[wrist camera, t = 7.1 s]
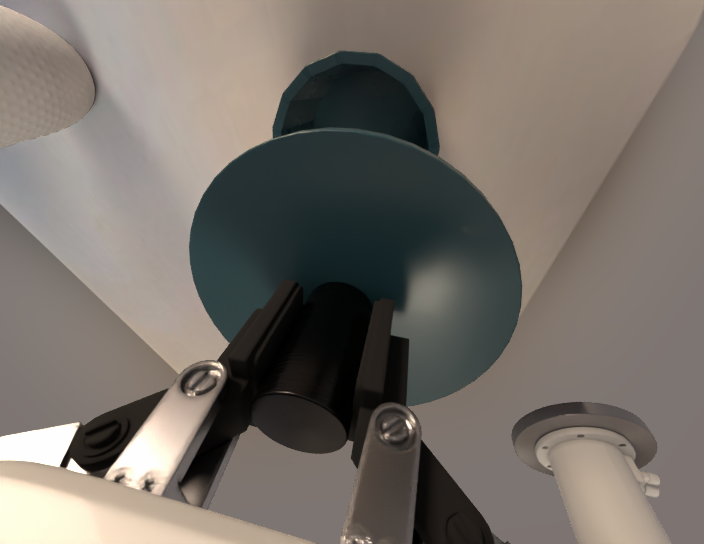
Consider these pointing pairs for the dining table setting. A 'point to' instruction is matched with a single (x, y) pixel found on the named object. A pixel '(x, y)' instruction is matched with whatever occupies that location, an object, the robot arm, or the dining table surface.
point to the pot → (358, 99)
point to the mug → (38, 80)
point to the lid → (354, 270)
